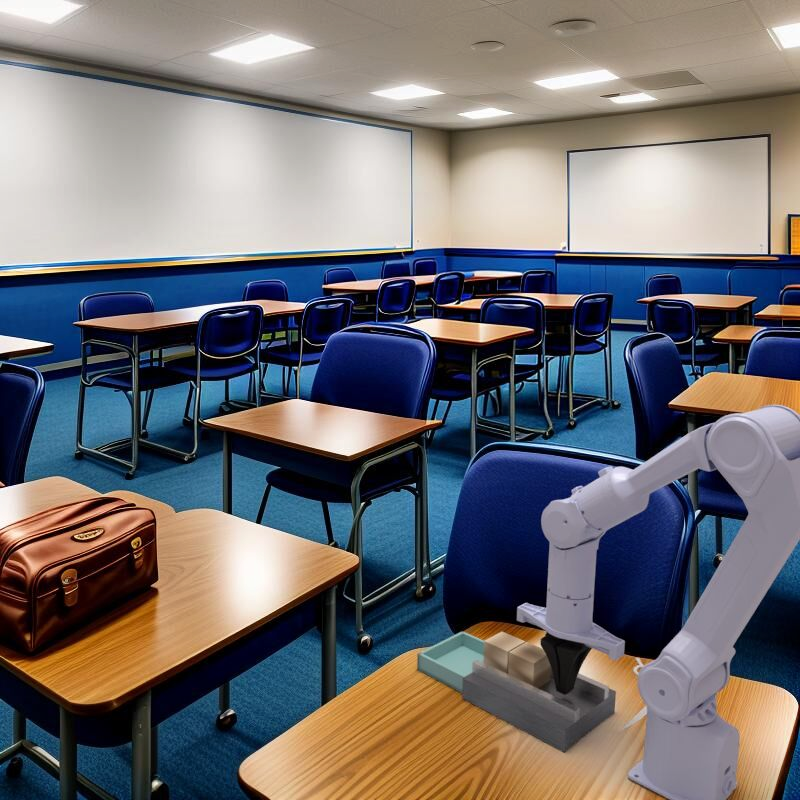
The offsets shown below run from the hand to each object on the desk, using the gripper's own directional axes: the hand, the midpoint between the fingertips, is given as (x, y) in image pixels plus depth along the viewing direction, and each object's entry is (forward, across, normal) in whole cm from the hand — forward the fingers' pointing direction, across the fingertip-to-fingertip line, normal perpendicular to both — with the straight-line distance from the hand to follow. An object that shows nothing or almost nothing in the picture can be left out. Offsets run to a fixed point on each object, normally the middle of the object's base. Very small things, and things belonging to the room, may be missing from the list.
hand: (564, 690), depth 95 cm
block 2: (+1, +6, 0) cm, 6 cm away
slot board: (+4, +4, 0) cm, 6 cm away
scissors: (+5, -6, -12) cm, 15 cm away
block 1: (+1, +10, 0) cm, 10 cm away
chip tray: (+4, +17, 0) cm, 17 cm away
